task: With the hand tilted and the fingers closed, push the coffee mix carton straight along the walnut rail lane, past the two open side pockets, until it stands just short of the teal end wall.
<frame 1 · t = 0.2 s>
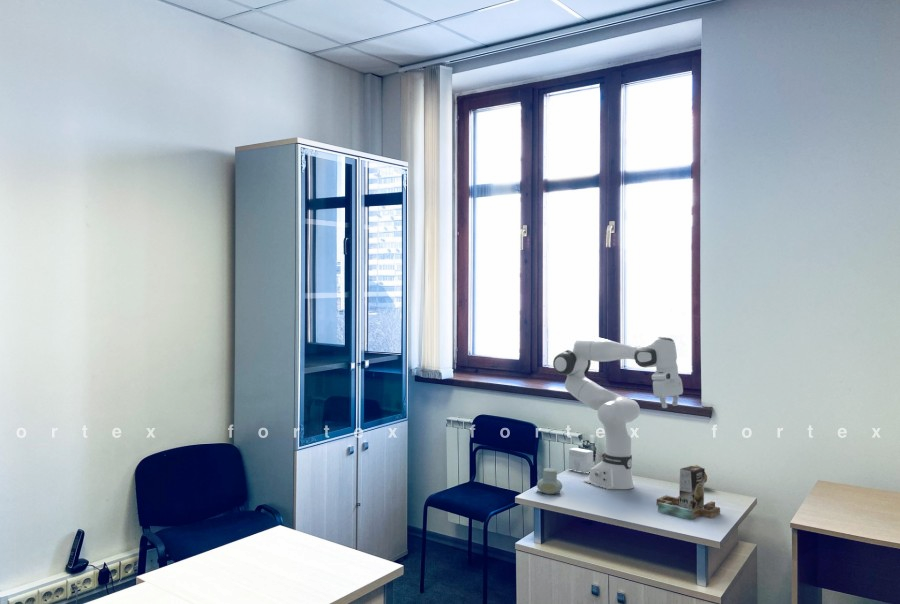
hand: (670, 406, 292), 39 cm above the cabinet, tool pointing down, fingers open, 8 cm apart
natural sponge: (696, 487, 308), on the cabinet
air freshener: (549, 493, 296), on the cabinet
lane: (687, 509, 275), on the cabinet
coffee box: (691, 508, 278), on the cabinet
skincare box: (580, 471, 335), on the cabinet
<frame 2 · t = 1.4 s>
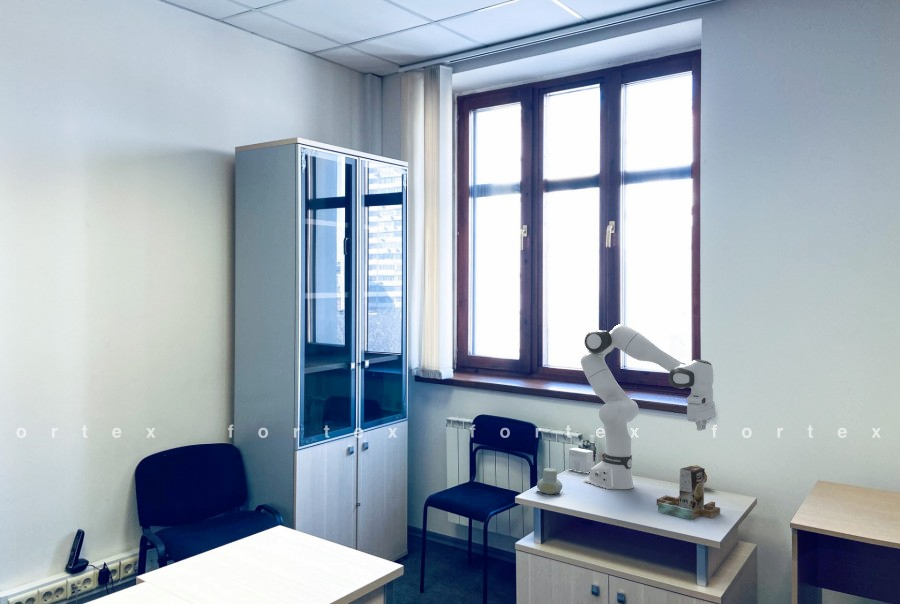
hand: (701, 429, 292), 29 cm above the cabinet, tool pointing down, fingers closed
nothing on the cabinet moved.
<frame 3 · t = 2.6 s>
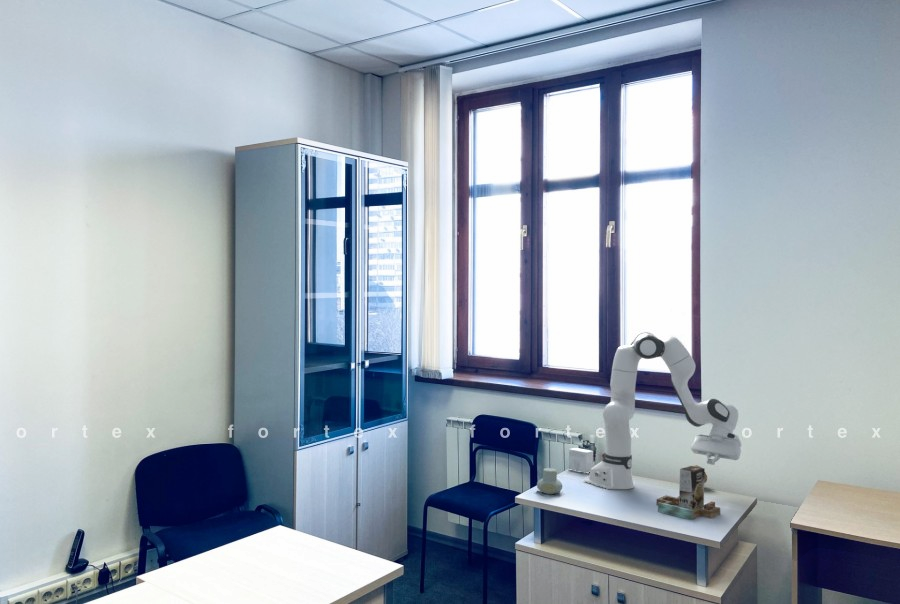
hand: (710, 463, 290), 15 cm above the cabinet, tool tilted 45°, fingers closed
nothing on the cabinet moved.
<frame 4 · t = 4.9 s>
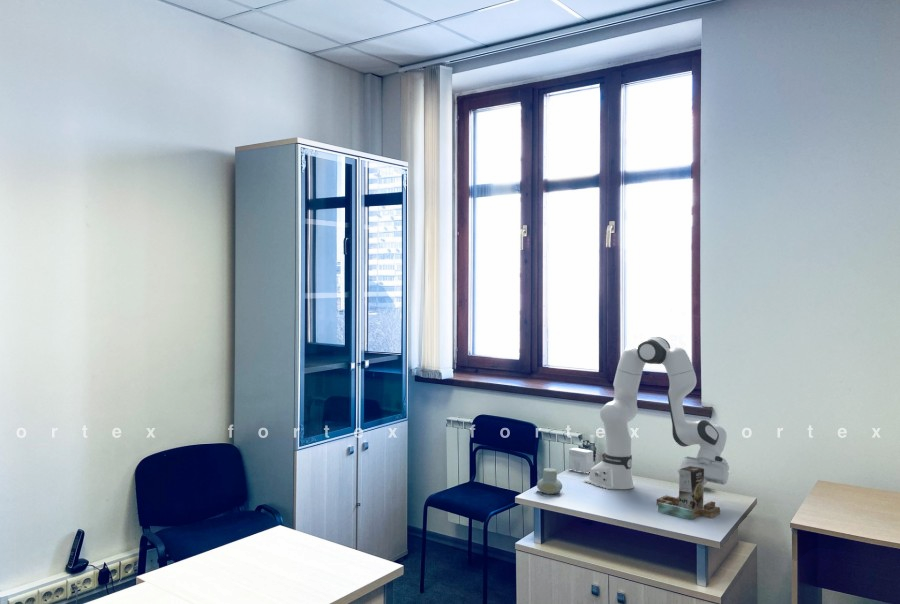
hand: (696, 487, 281), 7 cm above the cabinet, tool tilted 45°, fingers closed, pressing on coffee box
coffee box: (691, 508, 277), on the cabinet, touching gripper
everything else where it was.
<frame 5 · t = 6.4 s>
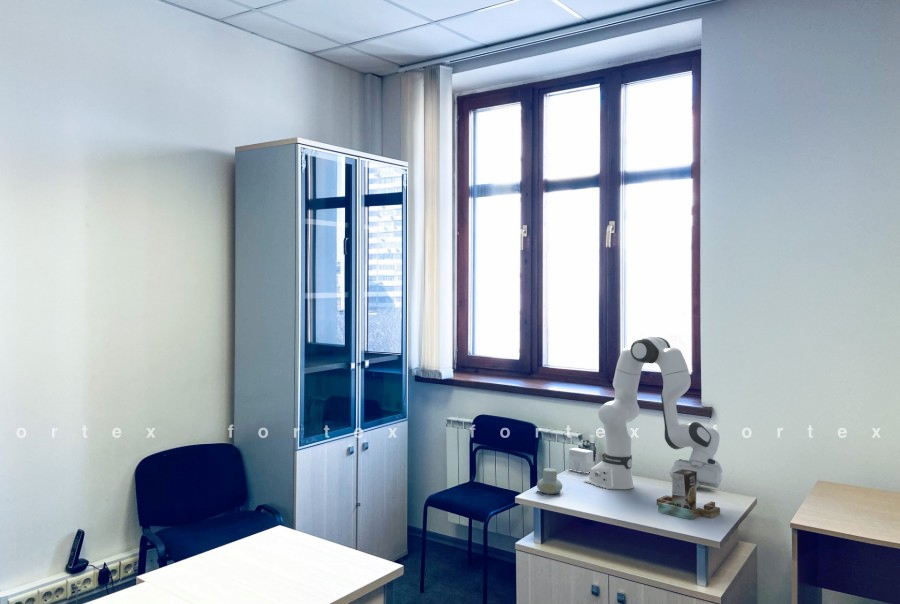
hand: (689, 491, 275), 7 cm above the cabinet, tool tilted 45°, fingers closed, pressing on coffee box
coffee box: (683, 512, 272), on the cabinet, touching gripper
everything else where it was.
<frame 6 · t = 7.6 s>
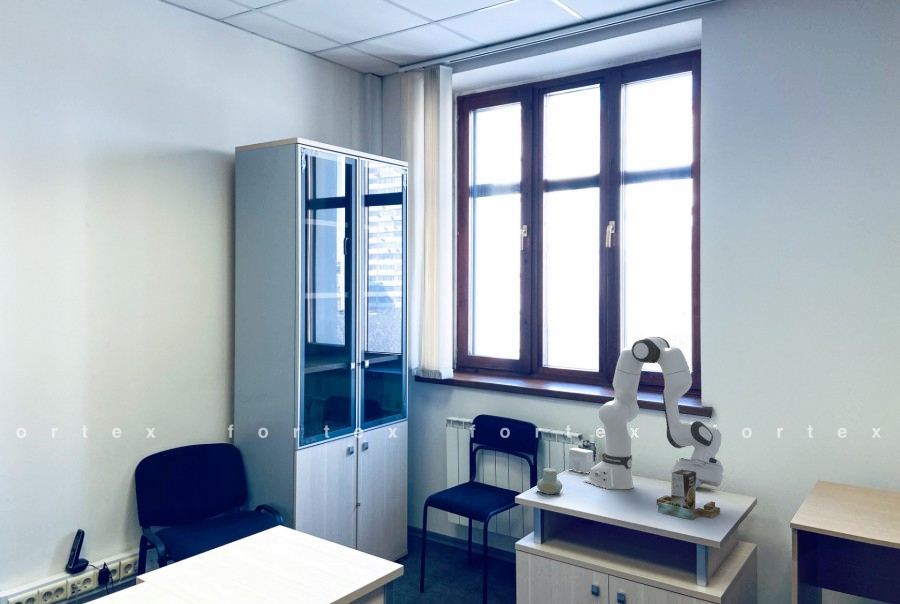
hand: (690, 489, 277), 8 cm above the cabinet, tool tilted 45°, fingers closed
coffee box: (683, 512, 271), on the cabinet
everything else where it was.
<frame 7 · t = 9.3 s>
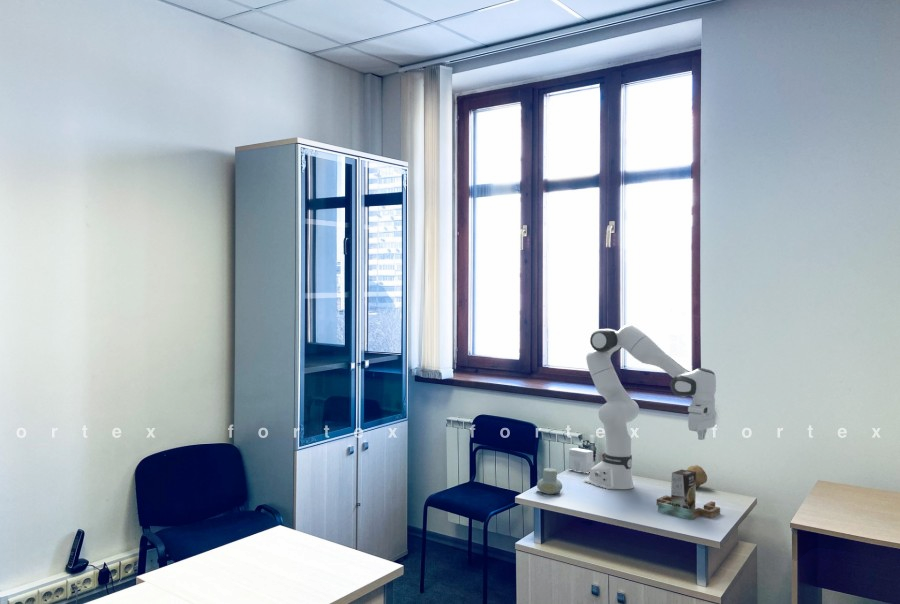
hand: (701, 439, 288), 26 cm above the cabinet, tool pointing down, fingers closed
nothing on the cabinet moved.
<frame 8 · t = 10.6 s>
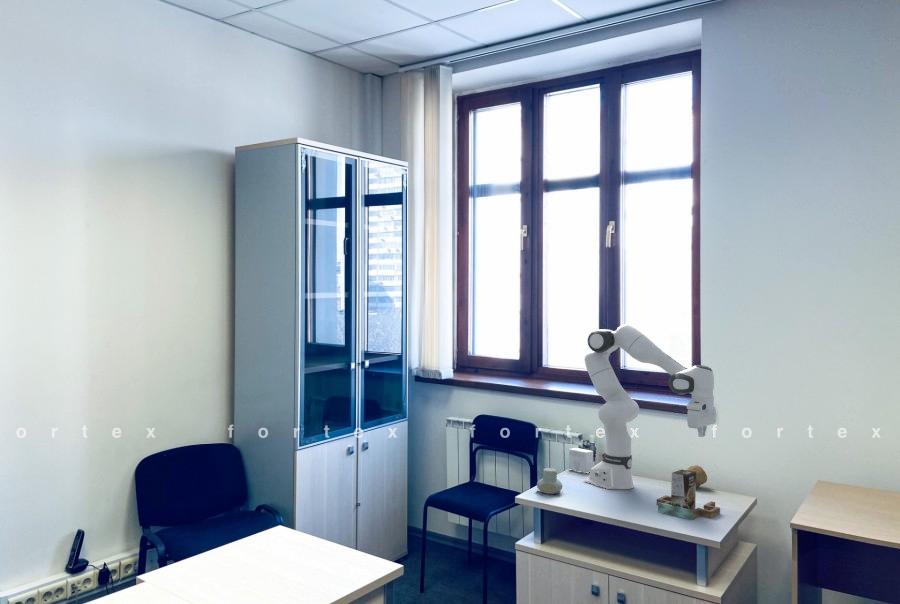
hand: (701, 436, 288), 27 cm above the cabinet, tool pointing down, fingers closed
nothing on the cabinet moved.
at the end: coffee box inside the target area (0.5 cm from its centre), on the cabinet; coffee box tilted 0°; coffee box moved 8.4 cm from its start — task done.
